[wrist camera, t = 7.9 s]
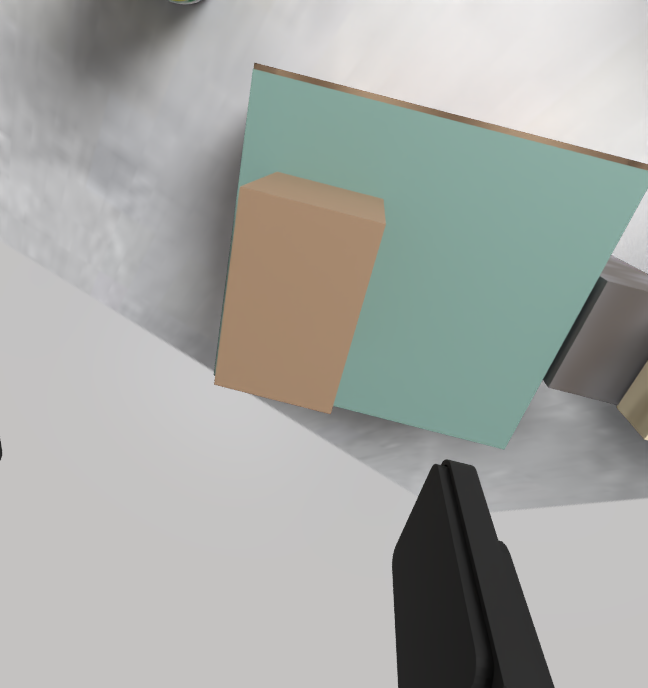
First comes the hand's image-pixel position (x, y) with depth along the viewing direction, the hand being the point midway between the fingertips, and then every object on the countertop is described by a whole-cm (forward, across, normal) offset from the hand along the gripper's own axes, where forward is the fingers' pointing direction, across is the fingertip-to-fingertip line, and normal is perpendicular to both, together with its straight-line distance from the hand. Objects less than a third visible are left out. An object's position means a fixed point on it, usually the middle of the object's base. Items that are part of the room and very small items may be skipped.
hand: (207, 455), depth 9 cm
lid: (+15, -5, 0) cm, 16 cm away
